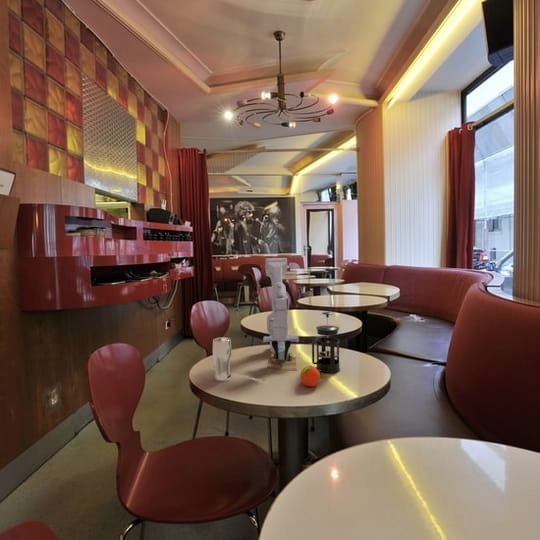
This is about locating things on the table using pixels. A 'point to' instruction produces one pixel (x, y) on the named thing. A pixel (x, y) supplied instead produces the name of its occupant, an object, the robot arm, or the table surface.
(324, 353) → the french press
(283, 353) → the grey block
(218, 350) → the beer glass
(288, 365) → the cradle
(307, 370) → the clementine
